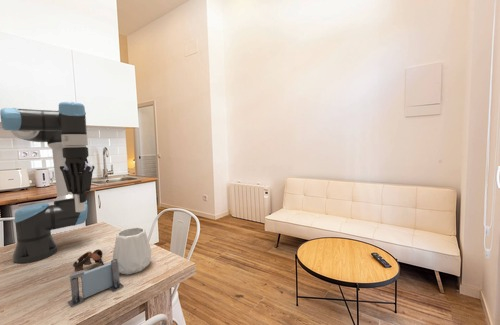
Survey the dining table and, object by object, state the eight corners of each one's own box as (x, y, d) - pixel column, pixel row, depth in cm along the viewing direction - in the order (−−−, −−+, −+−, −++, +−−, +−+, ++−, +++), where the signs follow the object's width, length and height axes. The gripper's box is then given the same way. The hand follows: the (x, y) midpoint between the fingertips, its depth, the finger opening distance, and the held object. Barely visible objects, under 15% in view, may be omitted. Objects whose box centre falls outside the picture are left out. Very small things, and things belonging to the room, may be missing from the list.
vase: (159, 261, 103) (157, 227, 101) (134, 279, 89) (131, 240, 88) (132, 257, 107) (130, 224, 106) (105, 274, 94) (102, 236, 92)
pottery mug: (99, 276, 93) (84, 261, 91) (79, 285, 94) (64, 271, 91) (113, 254, 105) (101, 240, 102) (95, 263, 105) (83, 250, 103)
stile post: (108, 288, 84) (106, 261, 83) (119, 283, 87) (117, 257, 86) (113, 291, 82) (111, 264, 81) (123, 286, 85) (121, 259, 84)
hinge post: (67, 302, 77) (65, 279, 76) (80, 296, 80) (78, 274, 79) (71, 307, 75) (69, 283, 74) (84, 301, 78) (82, 277, 77)
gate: (73, 302, 76) (71, 276, 75) (72, 300, 77) (69, 274, 76) (119, 282, 87) (118, 259, 86) (118, 281, 88) (116, 258, 87)
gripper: (49, 147, 83) (56, 213, 85) (81, 146, 81) (86, 215, 83) (70, 146, 91) (75, 207, 93) (99, 146, 88) (104, 208, 90)
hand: (80, 210), depth 88 cm, fingers closed
